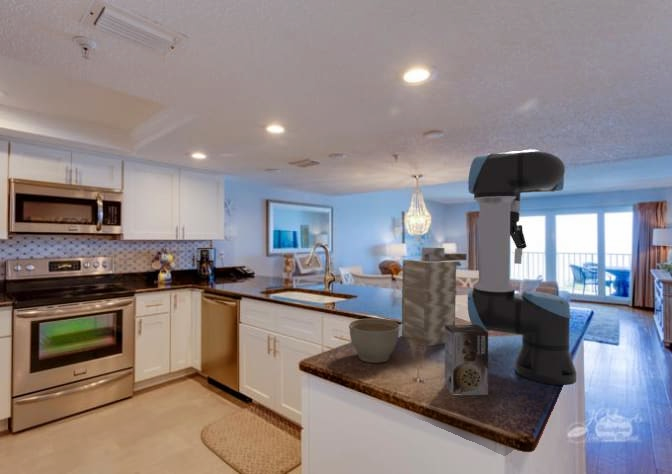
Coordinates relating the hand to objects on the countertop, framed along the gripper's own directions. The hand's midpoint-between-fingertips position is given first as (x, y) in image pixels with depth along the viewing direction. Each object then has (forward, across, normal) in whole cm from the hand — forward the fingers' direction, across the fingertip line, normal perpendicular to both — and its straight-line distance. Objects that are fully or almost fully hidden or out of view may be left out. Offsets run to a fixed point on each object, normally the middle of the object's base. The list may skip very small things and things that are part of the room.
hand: (506, 262), depth 144 cm
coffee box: (+36, +54, +33) cm, 73 cm away
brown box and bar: (+2, +28, -5) cm, 28 cm away
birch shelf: (+32, +33, -6) cm, 46 cm away
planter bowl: (+36, +64, +4) cm, 74 cm away
